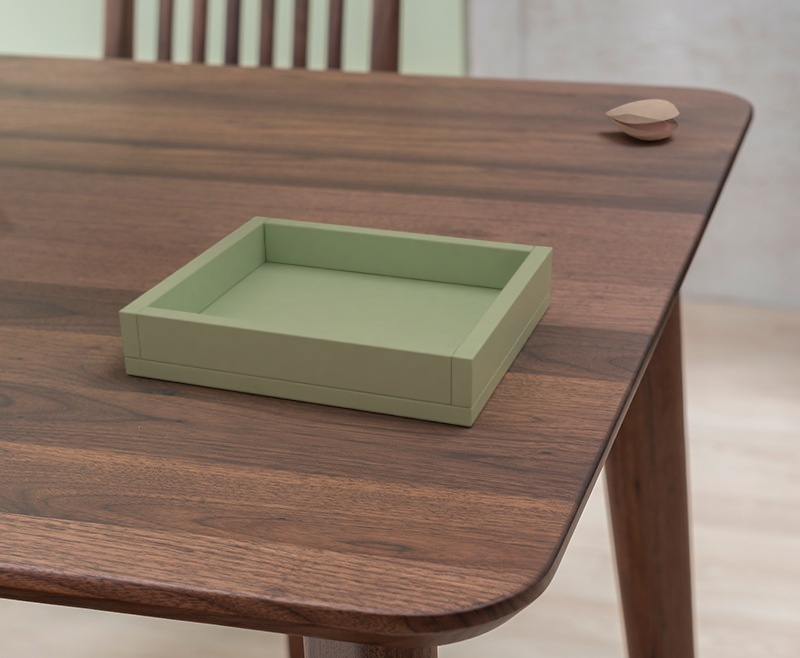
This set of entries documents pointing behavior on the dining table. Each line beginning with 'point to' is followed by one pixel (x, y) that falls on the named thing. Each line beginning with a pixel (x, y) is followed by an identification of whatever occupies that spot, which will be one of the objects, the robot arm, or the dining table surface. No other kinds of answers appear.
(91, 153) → the dining table surface
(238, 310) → the serving tray
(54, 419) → the dining table surface
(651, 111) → the pistachio shell
